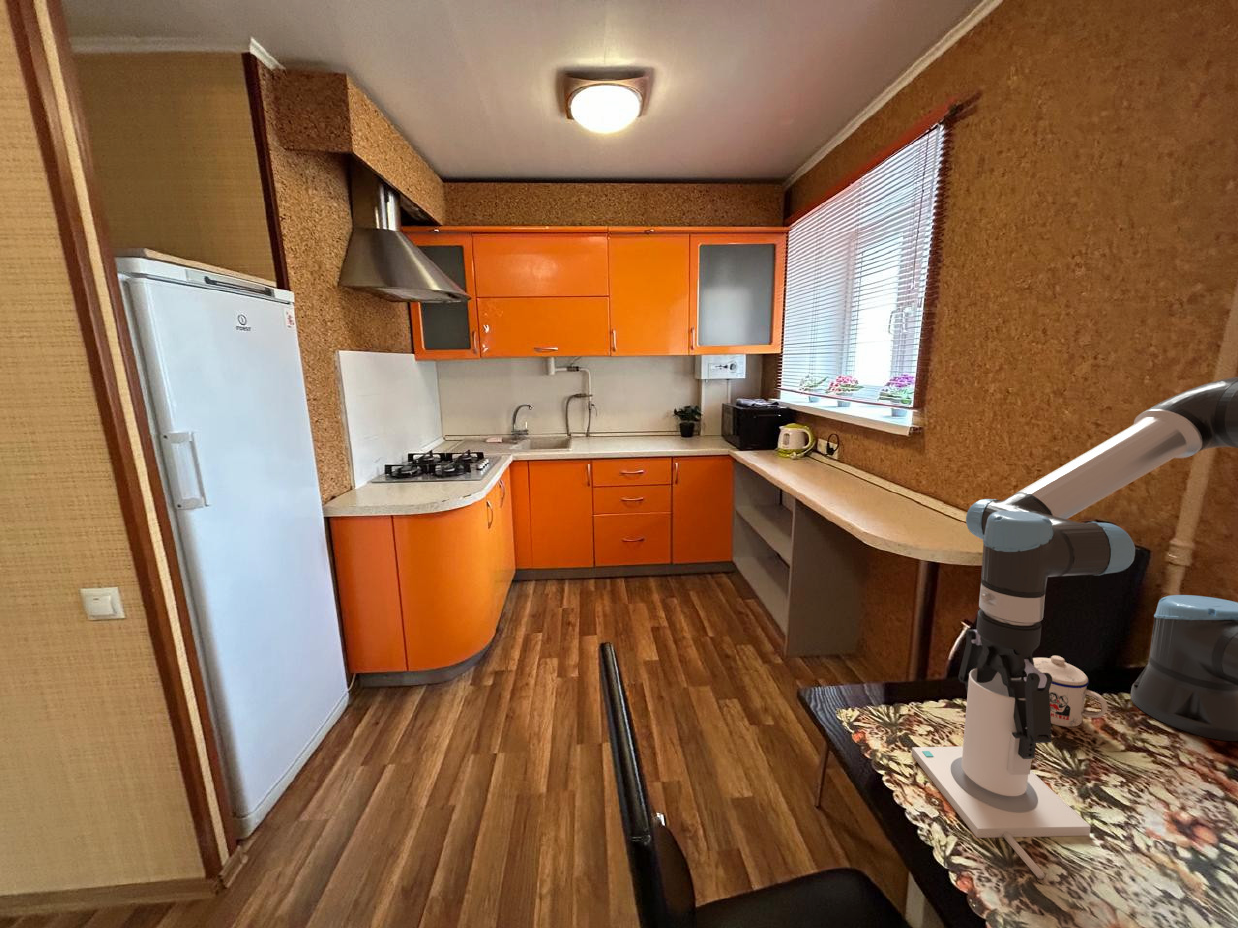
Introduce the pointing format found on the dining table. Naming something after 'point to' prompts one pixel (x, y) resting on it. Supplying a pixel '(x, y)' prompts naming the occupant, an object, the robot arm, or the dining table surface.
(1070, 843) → the dining table surface
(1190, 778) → the dining table surface
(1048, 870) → the dining table surface
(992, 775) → the cup
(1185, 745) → the dining table surface
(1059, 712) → the teacup with lid
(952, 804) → the pad
